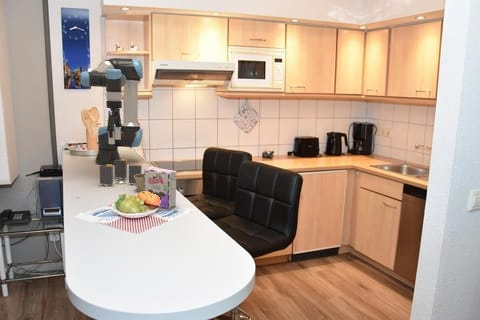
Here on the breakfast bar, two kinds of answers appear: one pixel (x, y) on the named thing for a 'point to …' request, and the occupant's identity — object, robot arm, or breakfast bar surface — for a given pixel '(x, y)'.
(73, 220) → the breakfast bar surface
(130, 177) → the grey thin slab
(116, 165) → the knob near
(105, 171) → the dark grey upright block
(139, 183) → the flower pot
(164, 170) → the candy box
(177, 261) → the breakfast bar surface
